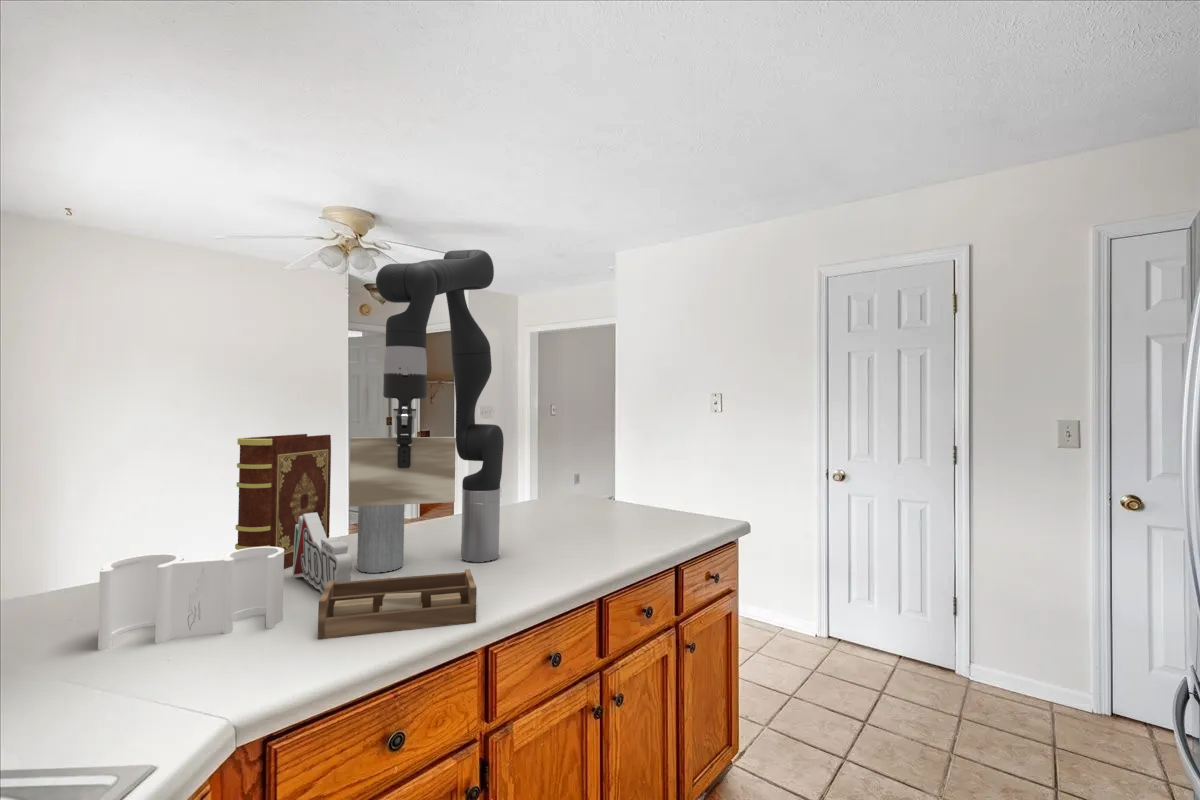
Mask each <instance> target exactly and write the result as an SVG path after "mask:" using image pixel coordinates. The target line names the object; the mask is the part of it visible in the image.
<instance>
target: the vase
mask: <svg viewBox="0 0 1200 800" xmlns="http://www.w3.org/2000/svg"><path fill="white" fill-rule="evenodd" d="M405 505H406V504H401V505H377V506H357V507H358V509H357V510H358V511H357V552H356V553H357V554H356V557H357V558H356V559H357V560H356V561H357V563H356V566H357V570H358V571H359V572H362V573H365V572H367V573H366V574H380V573H379V572H384V573H388V572H387V571H390V572H392V570H394V571H396V570H395V569H397V570H399V569H401V568H402V567H403V565H404V555H405V554H404V550H405V549H404V548H405V546H404V545H405ZM400 567H401V568H400ZM398 568H399V569H398Z"/></svg>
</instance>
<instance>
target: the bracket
mask: <svg viewBox="0 0 1200 800" xmlns="http://www.w3.org/2000/svg"><path fill="white" fill-rule="evenodd" d="M284 571H285V568H284V549H283V548H280V547H270V546H266V547H252V548H245V549H240V550H237V549H235V550H233V551H229V552H227V553H226V554H224V555H223V557H219V558H218V557H216V558H203V559H193V560H192V559H190V560H185V556H184V554H181V553H175V552H157V553H146V554H139V555H133V556H127V557H126V556H125V557H121V558H118V559H115V560H111V561H108V562H106V563H104V564H103V565H102V566H101V569H100V570H99V591H98V593H99V594H98V597H99V599H98V630H97V631H98V632H97V633H98V636H97V637H98V638H97V650H98V651H105V650H108V649H110V648H111V647H112V646H113V641H112V640H113V638H115V637H116V636H118V635H121V634H122V633H123V634H124V633H126V632H128V631H133V630H136V629H141V628H146V627H154V626H155V629H154V630H155V633H154V634H155V635H154V644H162V643H166V642H168V641H169V640H173V639H181V638H182V639H183V638H190V637H198V636H207V635H214V634H215V635H217V634H224V635H226V634H227V635H228V634H231V633H232V632H233V631H234V622H236V621H239V620H241V619H245V618H249V617H254V616H255V617H256V616H265V629H266V630H271V629H273V628H275V627H276V625H278V624H280V623H281V622H282V621H283V617H284V613H283V612H284V581H285V579H284V574H285V572H284Z"/></svg>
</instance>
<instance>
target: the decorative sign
mask: <svg viewBox="0 0 1200 800" xmlns="http://www.w3.org/2000/svg"><path fill="white" fill-rule="evenodd" d="M348 550H349V546H348V543H346V542H344V541H342V540H340V539H339V538H338V537H336V536H333V537H329V538H327V537H326V534H325V531H324V529H323V526H322V524H321V521H320V518H319V516H318V513H317V512H316V513H308V514H303V516H299V521H298V524H296V525H295V538H294V558H293V565H292V575H291V576H292V577H293V579H295V578H304V580H306V581H307V580H308V583H309V584H310V585H313V587H314V588H315V589H316V590H319V591H320V593H321V594H322V593H323V591H324V589H325V587H326V585H327V583H328V581H329V580H335V582H347V581H352V580H351V572H352V568H353V558H352V555H351V554H350V553H348Z"/></svg>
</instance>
